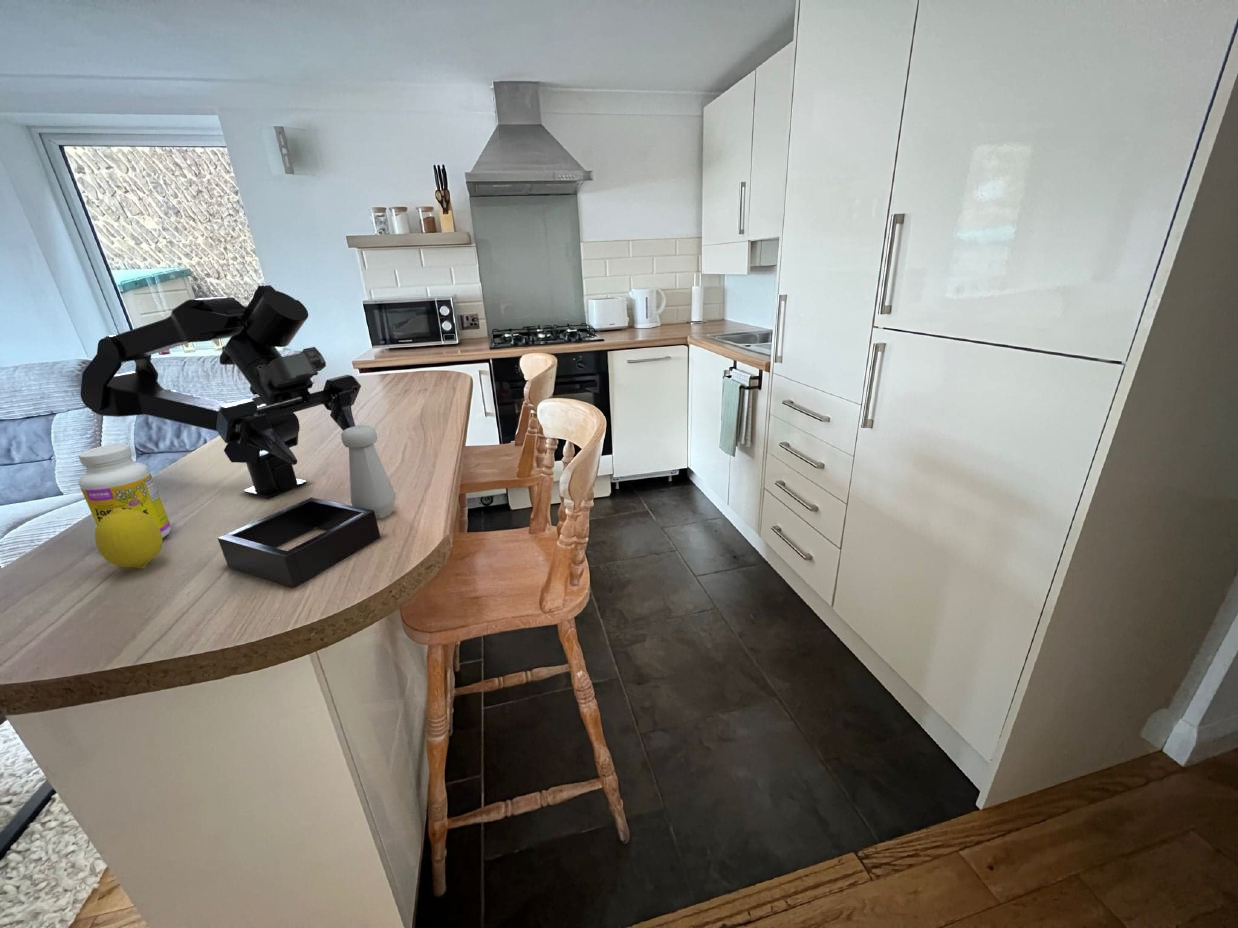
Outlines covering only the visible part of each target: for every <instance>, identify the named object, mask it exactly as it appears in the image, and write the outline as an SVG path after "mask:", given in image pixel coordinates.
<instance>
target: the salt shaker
mask: <svg viewBox="0 0 1238 928" xmlns="http://www.w3.org/2000/svg"><path fill="white" fill-rule="evenodd" d="M377 433H378V432H377V431H376V429H375V428H374V427H373V426H371V425H365V424H360V425H355V426H353V427H350V428H347V429H345V430H344V431H343V430H342V432H341V434H340V439H341V442H342V444H343V446H344V447H345V448H348V460H349V488H350V489H349V490H350V504H351V506H355V507H360V508H364V509H369V510H374V512H375V516H376V520H382V519H384V518H385V517H388V516H389V515H392V512H393V507H394V505H395V502H396V498H397V495H396V492H395V490H394V488H393V486H392V484H391V481H390V479H389V477H388V474H387V472H386V470H385V467H384V465H383V463H382V461H381V458H380V455H379V454H378V452H377V449H376V447H375V443H376V442H377V441H378V435H377Z"/></svg>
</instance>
